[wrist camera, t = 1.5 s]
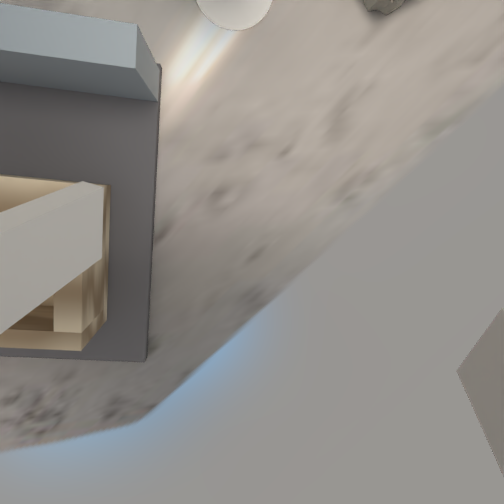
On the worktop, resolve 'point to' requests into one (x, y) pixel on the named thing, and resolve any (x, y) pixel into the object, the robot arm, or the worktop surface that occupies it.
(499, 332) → the robot arm
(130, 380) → the worktop surface
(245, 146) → the worktop surface
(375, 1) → the egg carton
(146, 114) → the mat
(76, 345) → the socket block
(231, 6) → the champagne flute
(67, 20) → the wall
